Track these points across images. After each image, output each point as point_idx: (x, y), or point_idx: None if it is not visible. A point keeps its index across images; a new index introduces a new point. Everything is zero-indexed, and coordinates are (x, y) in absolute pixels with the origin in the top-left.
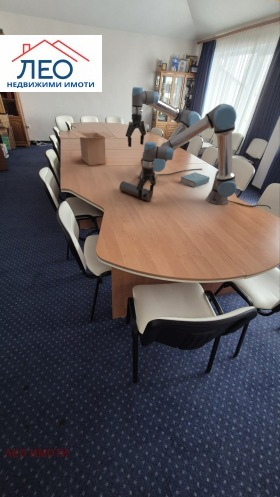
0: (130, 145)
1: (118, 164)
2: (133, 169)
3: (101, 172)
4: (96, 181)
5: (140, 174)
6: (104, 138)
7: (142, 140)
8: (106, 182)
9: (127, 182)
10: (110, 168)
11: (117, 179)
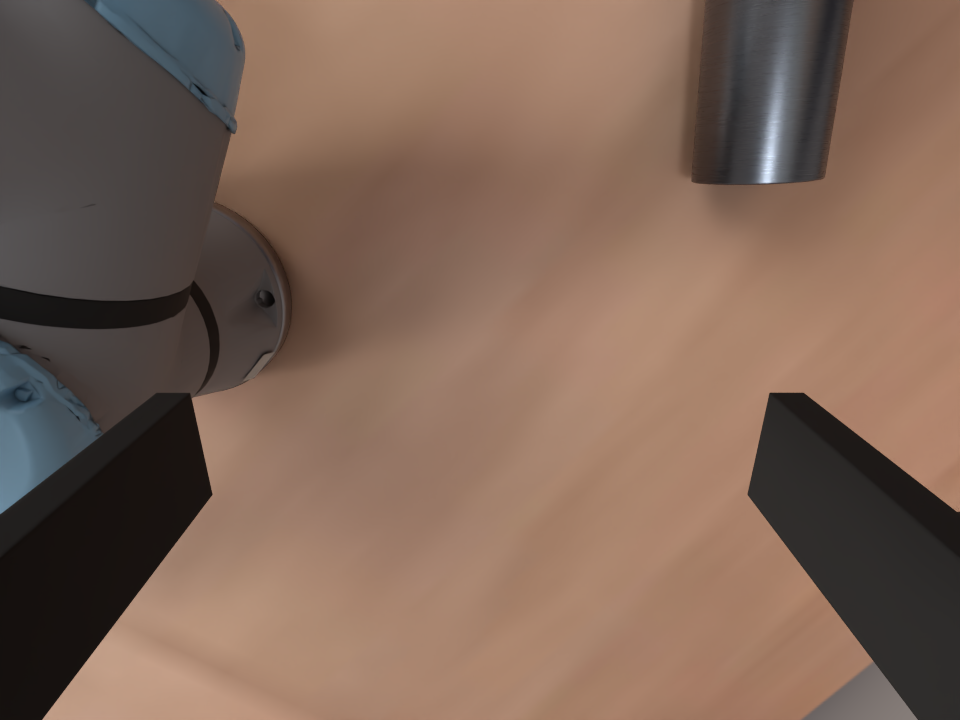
0: (834, 421)
1: (223, 700)
2: (177, 543)
3: (506, 637)
4: (712, 510)
5: (269, 346)
6: None
7: (107, 490)
8: (665, 442)
9: (782, 105)
10: (363, 666)
11: (521, 439)
